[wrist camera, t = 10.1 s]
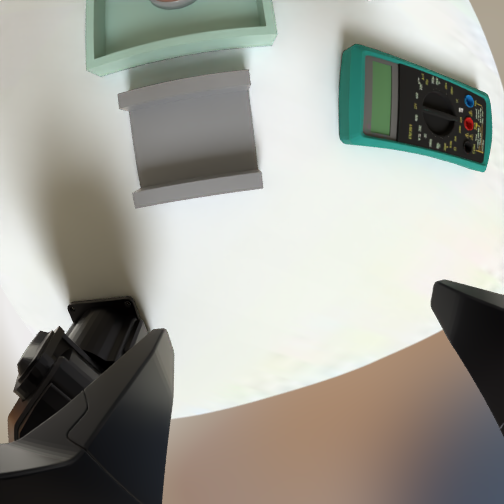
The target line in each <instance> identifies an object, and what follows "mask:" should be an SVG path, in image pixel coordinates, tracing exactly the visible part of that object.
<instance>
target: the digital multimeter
mask: <svg viewBox="0 0 504 504" xmlns="http://www.w3.org/2000/svg"><path fill="white" fill-rule="evenodd" d="M339 130H340V140H341V141H342V142H343V143H345V144H351V145H361V146H370V147H379V148H387V149H394V150H400V151H405V152H411V153H416V154H421V155H426V156H430V157H433V158H437V159H440V160H444V161H448V162H451V163H454V164H457V165H460V166H463V167H466V168H469V169H472V170H476V171H480V172H484V171H485V170H486V167H487V164H488V159H489V155H490V149H491V143H492V113H491V104H490V100H489V97H488V95H487V94H486V93H485V92H482V91H480V90H478V89H475V88H473V87H471V86H468V85H466V84H464V83H461V82H459V81H457V80H454V79H452V78H449V77H447V76H444V75H441V74H439V73H437V72H434V71H432V70H429V69H427V68H424V67H422V66H419V65H417V64H414V63H411V62H409V61H406V60H403V59H401V58H398V57H395V56H393V55H390V54H387V53H384V52H381V51H379V50H376V49H373V48H369V47H366V46H363V45H360V44H354V45H353V46H351V47H350V48H348V49H347V50H345V51H344V52H343V55H342V64H341V73H340V85H339ZM435 136H436V137H435ZM406 143H407V144H406ZM415 145H416V146H415ZM458 156H459V157H458ZM468 159H469V160H468Z"/></svg>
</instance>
